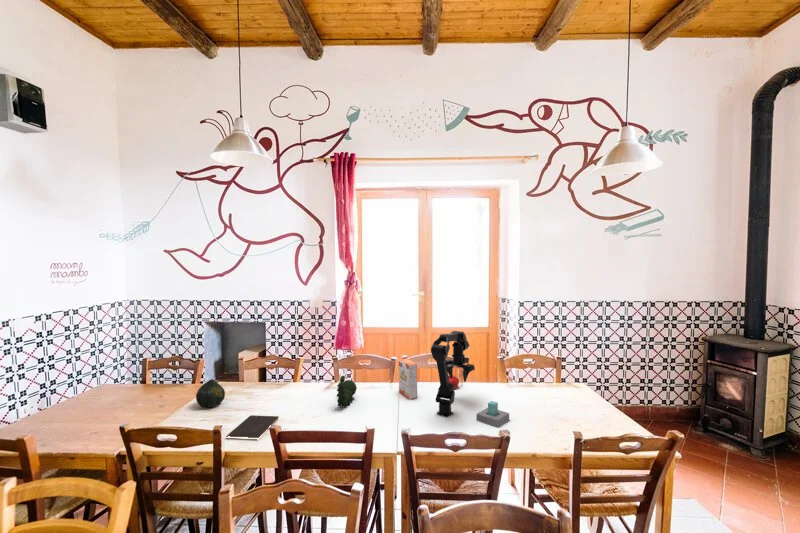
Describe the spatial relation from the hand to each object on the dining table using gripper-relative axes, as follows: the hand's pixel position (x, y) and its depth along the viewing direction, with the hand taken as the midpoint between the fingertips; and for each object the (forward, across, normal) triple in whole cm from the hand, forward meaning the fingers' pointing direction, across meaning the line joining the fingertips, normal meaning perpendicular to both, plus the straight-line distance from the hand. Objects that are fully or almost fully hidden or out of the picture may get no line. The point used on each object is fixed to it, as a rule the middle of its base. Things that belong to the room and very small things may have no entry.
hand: (458, 380), depth 227 cm
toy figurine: (+13, +48, +43) cm, 66 cm away
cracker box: (+13, +29, +11) cm, 34 cm away
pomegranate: (+13, +18, -18) cm, 29 cm away
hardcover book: (+14, +55, +96) cm, 111 cm away
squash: (+13, +102, +98) cm, 142 cm away
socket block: (+13, -27, +8) cm, 31 cm away
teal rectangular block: (+12, -27, +8) cm, 30 cm away
